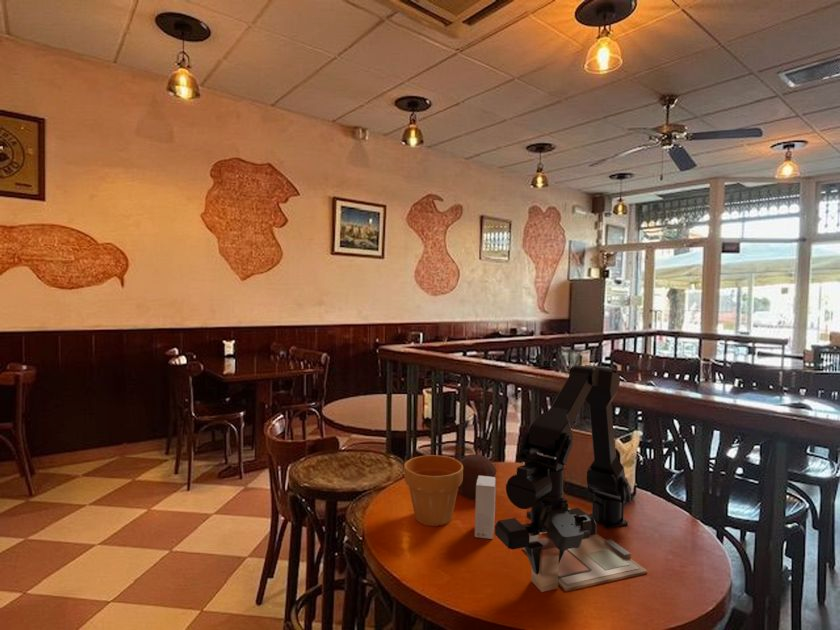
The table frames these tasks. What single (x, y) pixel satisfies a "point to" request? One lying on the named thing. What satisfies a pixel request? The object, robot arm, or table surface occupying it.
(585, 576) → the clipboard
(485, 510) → the skincare box
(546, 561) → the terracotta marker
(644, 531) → the table surface
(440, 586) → the table surface
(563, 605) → the table surface
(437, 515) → the flower pot
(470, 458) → the muffin
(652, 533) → the table surface
